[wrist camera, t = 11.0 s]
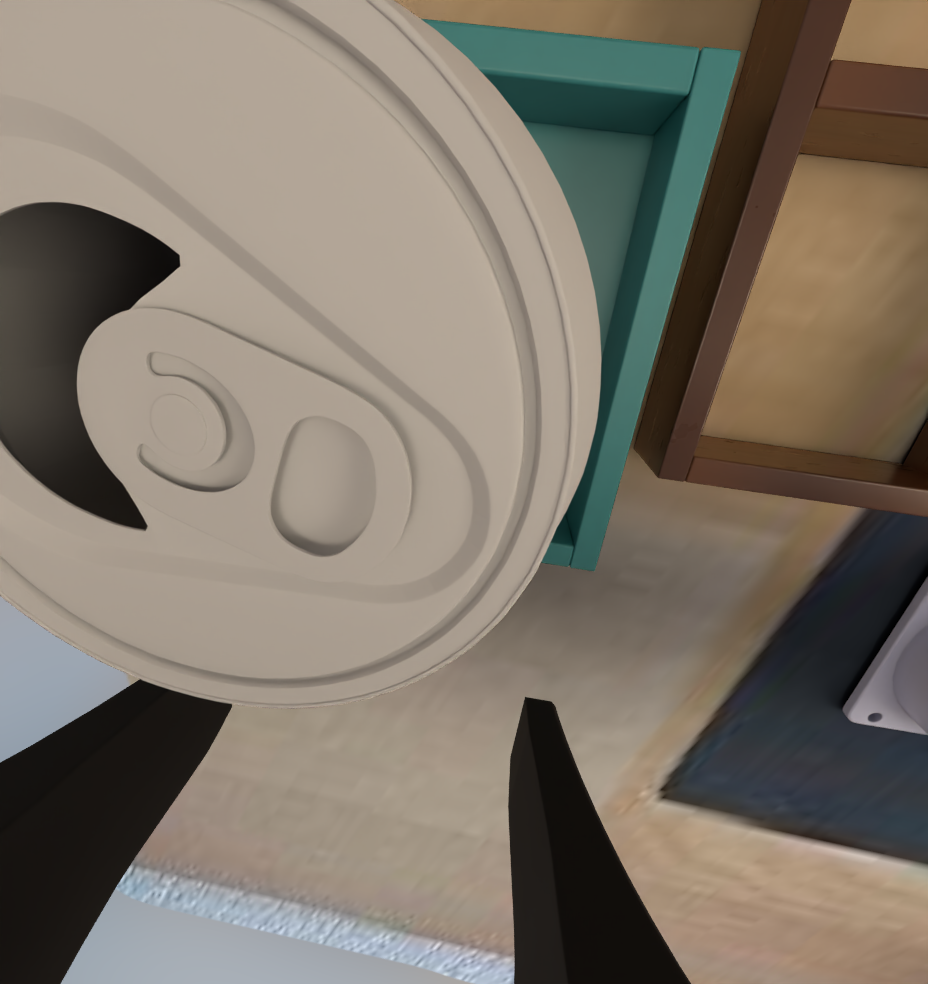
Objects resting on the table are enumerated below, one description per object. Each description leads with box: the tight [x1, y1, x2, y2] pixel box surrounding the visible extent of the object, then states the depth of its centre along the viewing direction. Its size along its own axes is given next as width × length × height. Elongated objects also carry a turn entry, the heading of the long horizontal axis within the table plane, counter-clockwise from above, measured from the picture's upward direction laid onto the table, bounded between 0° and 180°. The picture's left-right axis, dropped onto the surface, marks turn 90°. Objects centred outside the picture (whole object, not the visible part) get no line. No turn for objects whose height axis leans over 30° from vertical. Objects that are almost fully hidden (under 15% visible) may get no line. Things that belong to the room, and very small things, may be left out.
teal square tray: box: [421, 19, 741, 571], centre depth 13 cm, size 12×13×3 cm
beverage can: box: [0, 0, 601, 709], centre depth 9 cm, size 6×6×12 cm
